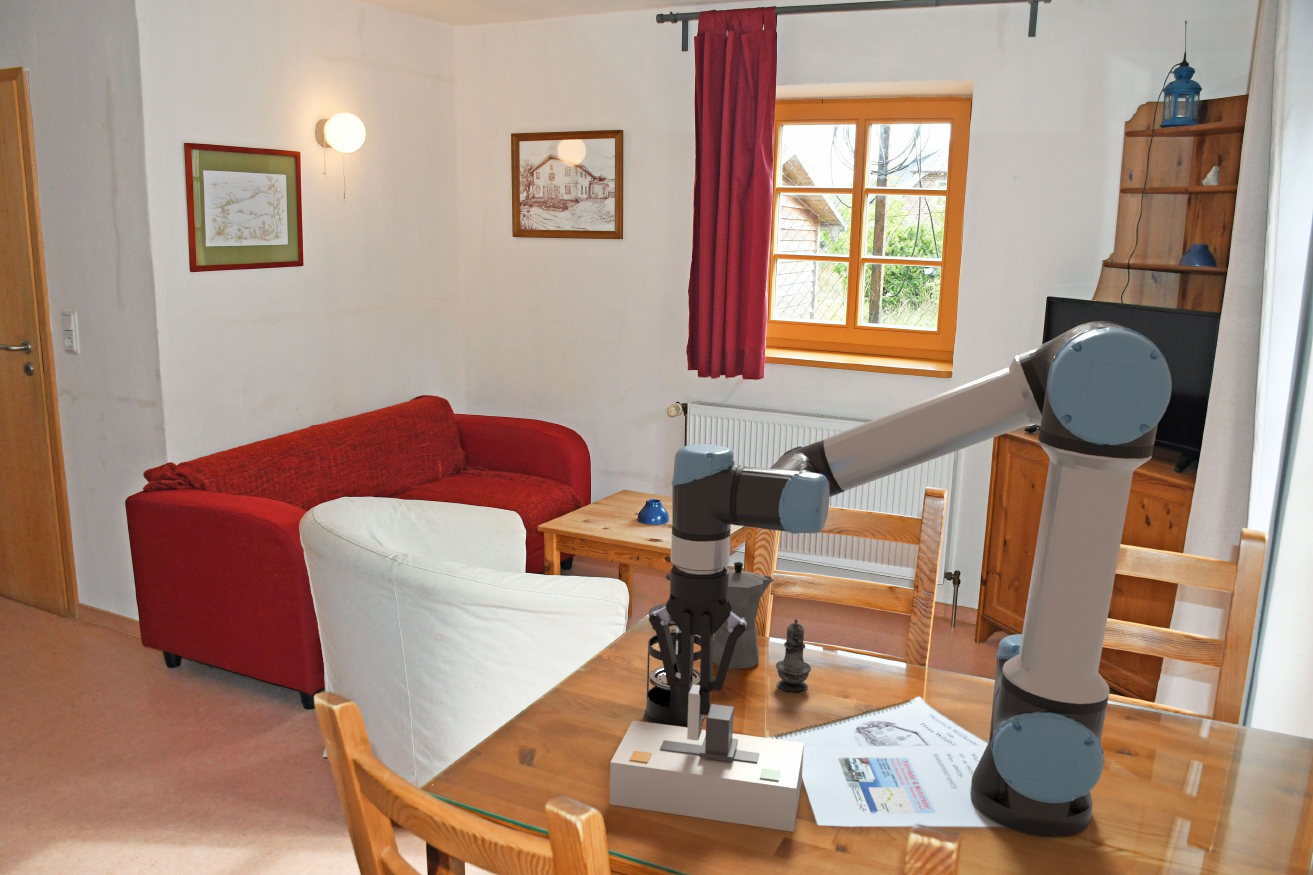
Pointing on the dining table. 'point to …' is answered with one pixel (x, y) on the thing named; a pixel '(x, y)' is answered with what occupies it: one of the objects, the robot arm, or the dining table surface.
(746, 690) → the dining table surface
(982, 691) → the dining table surface
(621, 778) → the slider switch box
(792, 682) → the salt shaker
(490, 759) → the dining table surface
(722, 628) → the coffeepot
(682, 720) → the french press
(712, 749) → the grey slider handle
